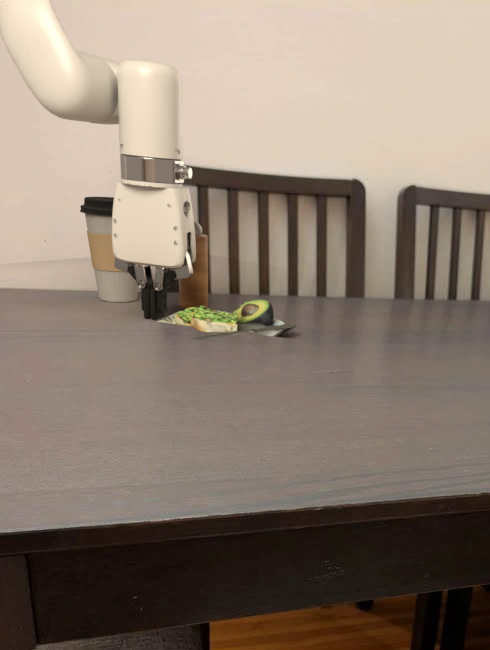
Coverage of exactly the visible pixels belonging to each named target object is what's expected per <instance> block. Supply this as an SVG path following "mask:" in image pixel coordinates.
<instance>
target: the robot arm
mask: <svg viewBox="0 0 490 650" xmlns="http://www.w3.org/2000/svg"><path fill="white" fill-rule="evenodd" d="M0 36H1V39H2V41H3V43H4V46H5V49H6V50H7V52H8V54H9V56H10V57H11V60H12V62H13V63H14V65H15V66H16V68H17V70H18V72H19V74H20V76H21V77H22V80H23V81H24V83H25V84H26V86H27V88H28V89H29V91H30V92H31V94H32V95H33V97H34V98H35V99H36V100H37V102H38V103H39V104H40V105H41V106H42V107H43V108H44V109H45V110H46V111H47V112H49V113H50V114H52V115H53V116H55V117H57V118H59V119H63V120H67V121H75V122H83V123H90V124H98V125H118V135H119V137H118V139H119V140H118V141H119V162H120V163H119V164H120V165H119V166H120V181H116V183H115V188H114V194H113V197H114V201H113V212H112V248H113V254H114V256H115V262H114V266H115V267H116V268H117V269H119V270H122V271H124V272H128V273H129V274H130V275H131V276H132V277H133V278H134V279H135V281H136V282H137V286H138V289H140V291H141V292H140V295H141V297H140V298H141V299H140V300H141V311H143V318H144V319H145V320H152V321H159V320H161V319H164V318H165V316H166V313H167V311H168V289H169V288H170V287H171V285H172V284H173V283H174V282H175V281H176V280H179V279H183V278H188V277H191V276H193V269H192V263H194V262H195V259H196V239H195V226H194V221H195V216H194V210H193V209H194V208H193V204H192V197H191V192H190V188H189V187H184V186H183V184H184V183H185V180H186V179H189V180H191V179H192V178H193V169H192V168H191V167H189V166H186V165H185V164H184V163H185V161H184V160H183V87H182V86H183V84H182V75H181V74H180V72H179V70H178V68H176V67H175V66H173V65H171V64H167V63H165V62H160V61H153V60H145V59H126V60H122V61H121V62H120V61H117V60H113V59H109V58H105V57H103V56H99V55H96V54H93V53H89V52H85V51H81V50H78V49H76V48H75V47H74V45H73V43H72V41H71V40H70V38H69V37H68V35H67V33H66V31H65V29H64V27H63V25H62V23H61V22H60V19H59V17H58V16H57V13H56V11H55V9H54V6H53V4H52V1H51V0H0ZM153 267H155V271H154V270H153ZM154 272H155V273H154Z"/></svg>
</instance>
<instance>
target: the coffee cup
mask: <svg viewBox="0 0 490 650" xmlns="http://www.w3.org/2000/svg"><path fill="white" fill-rule="evenodd" d="M113 201H114V196H112V197H111V196H85V197H84V199H83V204H81V205H80V206H79V207H80V209H79V212H80V213H83V214H84V217H85V223H86V228H87V230H86V235H87V241H88V247H89V251H90V259H91V264H92V265H91V266H92V268H93V271H94V275H95V282H96V283H95V284H96V288H97V296H98V299H100V301H103V302H109V303H131V302H132V303H133V302H135V301H137V300H138V291H139V290H138V289H139V287H138V286H137V282H136V281H135V279H134V278H133V277H132V276H131V275H130V274H129V273H128V272H124V271H122V270H119V269H117V268H116V267H115V266H114V262H115V256H114V254H113V248H112V212H113Z"/></svg>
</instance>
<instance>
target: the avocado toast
mask: <svg viewBox="0 0 490 650" xmlns="http://www.w3.org/2000/svg"><path fill="white" fill-rule="evenodd" d="M274 317H275V315H274V307H273V305H272V303H271V302H270V300H268V299H263V298H260V299H259V298H258V299H257V298H256V299H251V300H247V301H245V302H244V303H241V304H239V305H238V308H235V309H234V310H233V311H232V312H229V311H228V312H227V311H225V310H224V311H221V310H216V309H212V308H210V307H208V308H207V307H206V306H200V307H189V308H186V309H184V310H178V311H177V312H174V313H172V314H170V315H168V316H166V317H163V318H161V319H158V320H155V322H157V323H165V324H172V325H179V326H187V327H191V328H194V329H195V330H196V331H199V332H205V333H216V334H211V335H203V336H196V337H192V338H191V340H192V341H199V340H207V339H217V338H225V337H230V336H237V335H244V334H249V335H250V334H251V335H259V336H266V337H267V336H268V337H274V338H279V337H280V336H281V335H283V334H285V333H287V332H289V331H290V330H292V329H294V328H296V327H297V326H298V324H297V323H294V322H290V323H285V322H284V321H283V320H281V319H277V318H274Z"/></svg>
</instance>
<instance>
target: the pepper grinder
mask: <svg viewBox="0 0 490 650" xmlns="http://www.w3.org/2000/svg"><path fill="white" fill-rule="evenodd" d="M194 226H195V239H196V259H195V262H194V263H192V269H193V276H191V277H188V278H183V279H178V287H179V289H178V290H179V291H178V292H179V294H178V295H179V296H178V297H179V308H181V309H183V308H184V310H185V309H186V308H189V307H200V306H206V307H207V309H208V308H209V236H208V235H207V234H203V227H202V226H201V224H200V223H199V222H197V221H195V220H194Z"/></svg>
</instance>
